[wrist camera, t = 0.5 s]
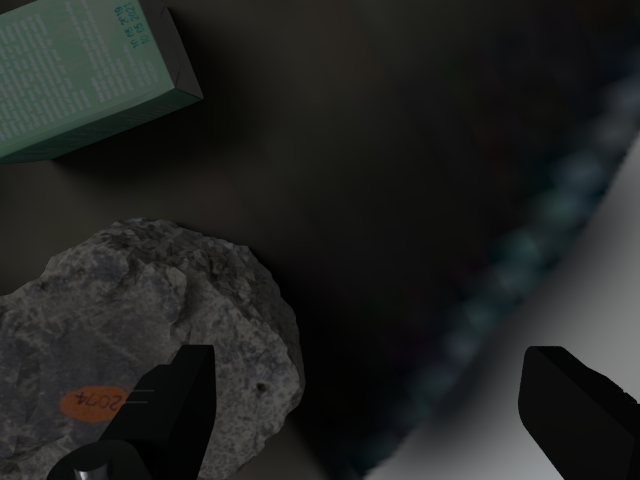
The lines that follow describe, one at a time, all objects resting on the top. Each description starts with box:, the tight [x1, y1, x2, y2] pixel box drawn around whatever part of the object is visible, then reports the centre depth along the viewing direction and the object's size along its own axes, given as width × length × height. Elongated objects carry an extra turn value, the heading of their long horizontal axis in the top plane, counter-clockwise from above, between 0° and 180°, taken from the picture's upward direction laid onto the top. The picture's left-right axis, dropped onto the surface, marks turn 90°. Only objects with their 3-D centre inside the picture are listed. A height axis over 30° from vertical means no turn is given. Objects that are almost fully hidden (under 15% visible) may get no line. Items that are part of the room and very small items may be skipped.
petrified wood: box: [0, 217, 306, 480], centre depth 29 cm, size 19×17×15 cm
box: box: [0, 0, 204, 164], centre depth 29 cm, size 7×14×8 cm, turn 110°
